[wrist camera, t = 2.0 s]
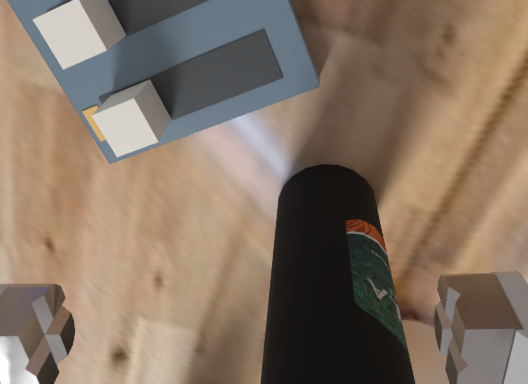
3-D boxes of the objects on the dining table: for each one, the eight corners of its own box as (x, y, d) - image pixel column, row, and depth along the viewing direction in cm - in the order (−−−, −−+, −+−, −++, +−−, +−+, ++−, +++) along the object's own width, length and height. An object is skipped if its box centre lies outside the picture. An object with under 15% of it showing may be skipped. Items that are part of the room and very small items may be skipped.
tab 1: (100, -13, 30) (77, -3, 27) (126, 35, 31) (107, 50, 28) (59, 7, 31) (32, 19, 28) (86, 53, 32) (63, 69, 29)
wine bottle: (288, 155, 37) (242, 746, 11) (388, 174, 37) (566, 799, 12) (269, 237, 41) (205, 816, 15) (360, 254, 41) (448, 854, 15)
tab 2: (149, 79, 33) (133, 98, 30) (171, 119, 34) (158, 142, 31) (110, 95, 33) (91, 115, 30) (133, 134, 35) (117, 157, 32)
